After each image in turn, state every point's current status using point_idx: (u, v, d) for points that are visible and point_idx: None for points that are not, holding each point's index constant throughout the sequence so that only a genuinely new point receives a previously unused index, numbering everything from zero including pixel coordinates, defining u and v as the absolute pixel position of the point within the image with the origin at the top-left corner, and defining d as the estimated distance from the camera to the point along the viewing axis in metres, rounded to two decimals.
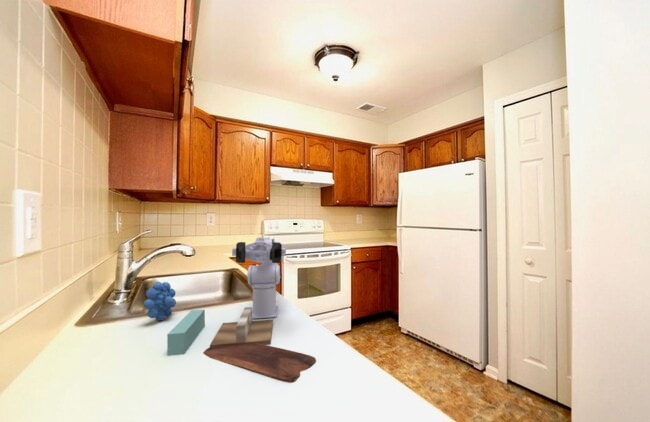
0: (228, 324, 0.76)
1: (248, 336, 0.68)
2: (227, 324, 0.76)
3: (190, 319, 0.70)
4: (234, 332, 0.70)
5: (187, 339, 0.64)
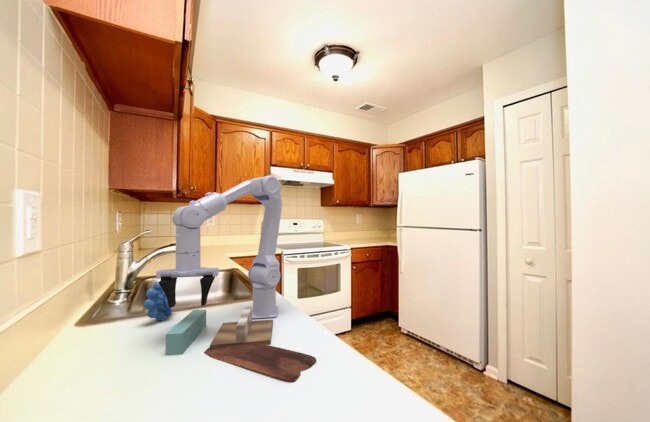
0: (228, 324, 0.76)
1: (248, 336, 0.68)
2: (227, 324, 0.76)
3: (191, 319, 0.70)
4: (234, 332, 0.70)
5: (186, 339, 0.63)
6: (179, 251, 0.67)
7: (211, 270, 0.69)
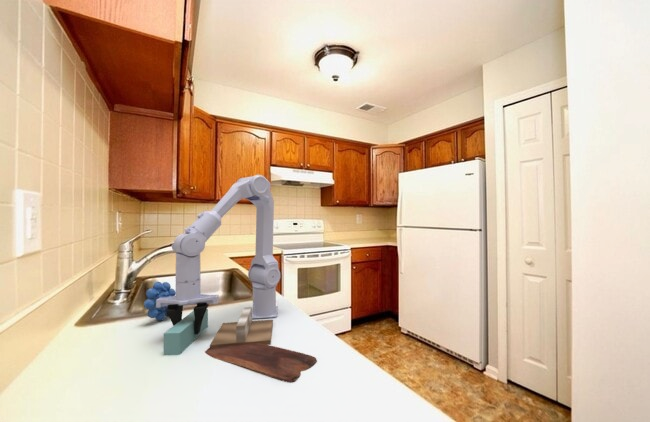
0: (228, 324, 0.76)
1: (248, 336, 0.68)
2: (227, 324, 0.76)
3: (191, 318, 0.70)
4: (234, 332, 0.70)
5: (184, 339, 0.63)
6: (179, 280, 0.67)
7: (211, 298, 0.69)
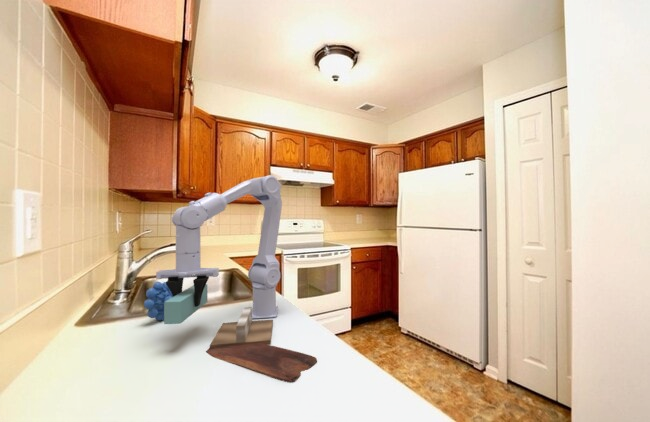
0: (228, 324, 0.76)
1: (248, 336, 0.68)
2: (227, 324, 0.76)
3: (191, 291, 0.70)
4: (234, 332, 0.70)
5: (185, 309, 0.64)
6: (179, 252, 0.67)
7: (211, 270, 0.69)
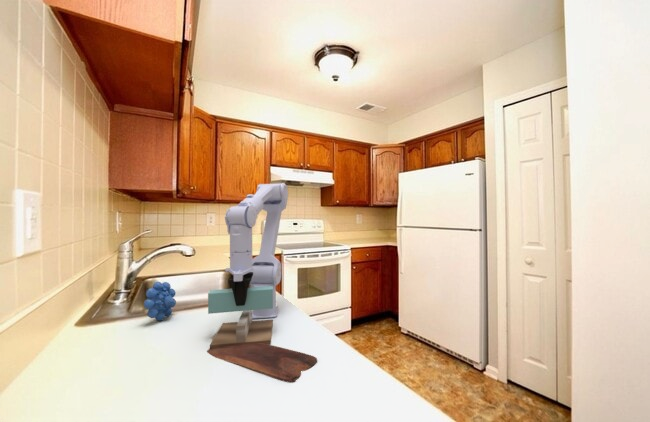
0: (228, 324, 0.76)
1: (248, 336, 0.68)
2: (227, 324, 0.76)
3: None
4: (234, 332, 0.70)
5: (217, 302, 0.68)
6: (241, 250, 0.69)
7: (233, 273, 0.65)
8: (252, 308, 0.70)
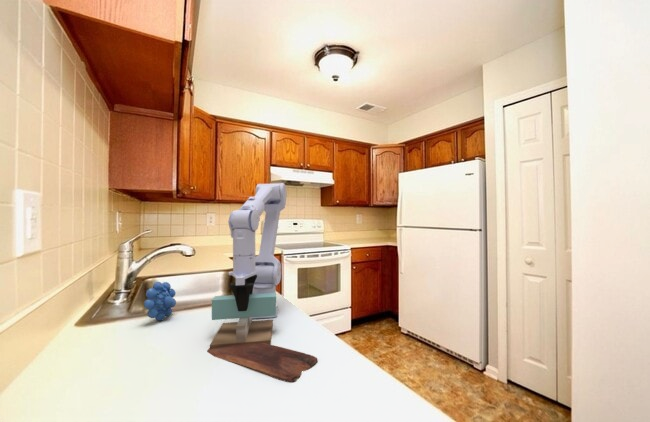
0: (228, 324, 0.76)
1: (248, 336, 0.68)
2: (227, 324, 0.76)
3: None
4: (234, 332, 0.70)
5: (221, 309, 0.69)
6: (244, 254, 0.69)
7: (235, 277, 0.65)
8: (255, 315, 0.70)
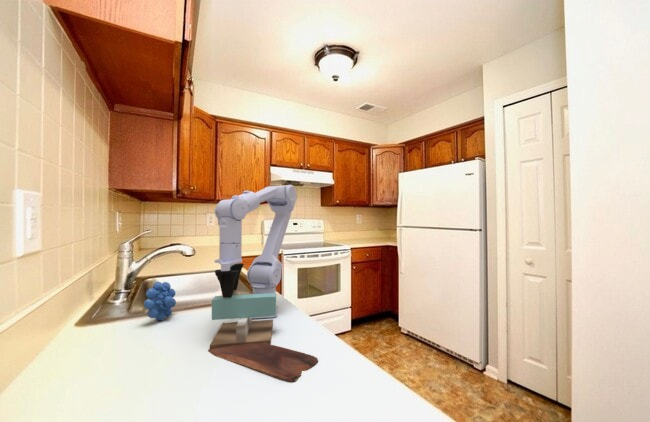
0: (228, 324, 0.76)
1: (248, 336, 0.68)
2: (227, 324, 0.76)
3: (247, 296, 0.71)
4: (234, 332, 0.70)
5: (221, 309, 0.69)
6: (227, 241, 0.71)
7: (221, 263, 0.67)
8: (255, 315, 0.70)
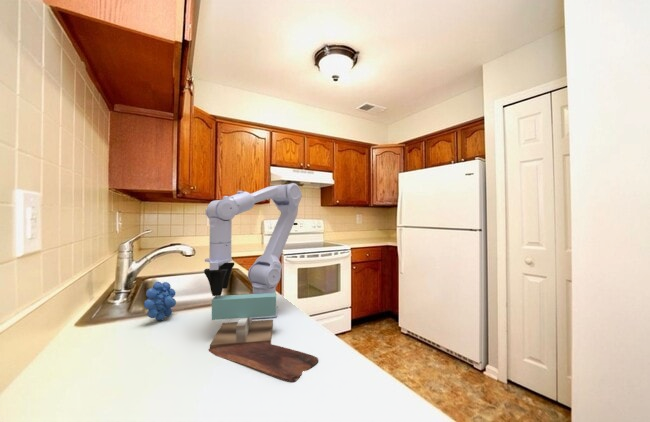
0: (228, 324, 0.76)
1: (248, 336, 0.68)
2: (227, 324, 0.76)
3: (247, 296, 0.71)
4: (234, 332, 0.70)
5: (221, 309, 0.69)
6: (214, 241, 0.72)
7: None
8: (255, 315, 0.70)
